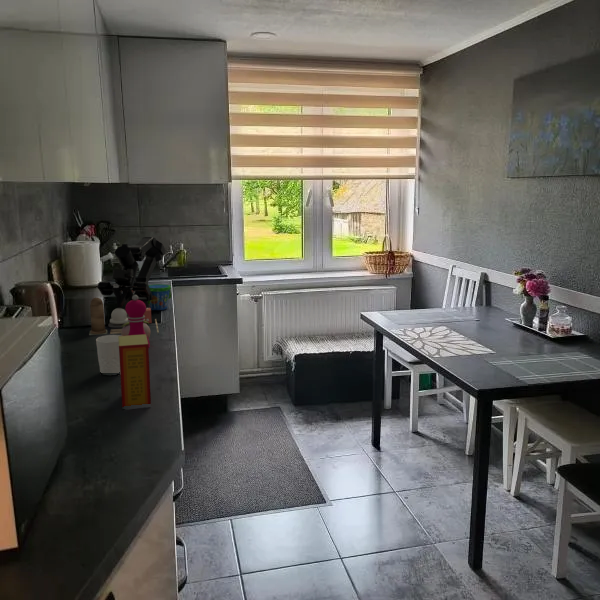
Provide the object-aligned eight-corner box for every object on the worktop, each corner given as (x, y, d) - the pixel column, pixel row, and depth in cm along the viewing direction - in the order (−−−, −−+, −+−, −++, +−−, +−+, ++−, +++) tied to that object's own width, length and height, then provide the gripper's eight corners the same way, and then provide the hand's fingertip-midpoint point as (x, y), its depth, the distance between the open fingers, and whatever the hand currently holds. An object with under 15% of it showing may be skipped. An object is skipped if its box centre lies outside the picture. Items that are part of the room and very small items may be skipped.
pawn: (91, 330, 193) (88, 296, 190) (106, 330, 194) (104, 295, 192) (90, 334, 188) (87, 299, 185) (105, 333, 189) (103, 298, 187)
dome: (110, 321, 204) (109, 306, 202) (129, 320, 206) (128, 305, 204) (109, 325, 197) (108, 310, 196) (129, 324, 199) (128, 309, 198)
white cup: (130, 368, 157) (129, 334, 155) (123, 377, 149) (121, 342, 147) (103, 368, 157) (101, 334, 155) (94, 377, 149) (91, 342, 147)
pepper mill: (125, 363, 161) (121, 297, 157) (126, 356, 168) (122, 293, 164) (150, 361, 163) (147, 296, 159) (150, 354, 170) (147, 292, 166)
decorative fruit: (131, 353, 170) (130, 323, 168) (117, 348, 176) (116, 318, 174) (157, 347, 177) (156, 318, 175) (143, 343, 183) (141, 314, 181)
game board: (88, 325, 205) (88, 321, 205) (156, 321, 212) (156, 317, 212) (84, 339, 186) (83, 334, 186) (158, 334, 194) (158, 330, 193)
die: (137, 321, 209) (137, 308, 208) (151, 320, 210) (150, 307, 209) (137, 324, 204) (137, 310, 203) (151, 323, 205) (151, 310, 204)
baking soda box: (121, 396, 136) (118, 334, 132) (148, 393, 138) (145, 332, 134) (122, 410, 127) (118, 344, 124) (151, 407, 129) (148, 342, 126)
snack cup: (162, 304, 244) (161, 282, 242) (180, 307, 239) (179, 284, 237) (136, 310, 231) (135, 287, 229) (155, 313, 226) (154, 289, 224)
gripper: (97, 260, 203) (86, 294, 194) (146, 261, 202) (137, 296, 193) (107, 277, 212) (97, 311, 203) (154, 278, 211) (145, 312, 202)
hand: (118, 307), depth 200 cm, fingers closed, pressing on dome
